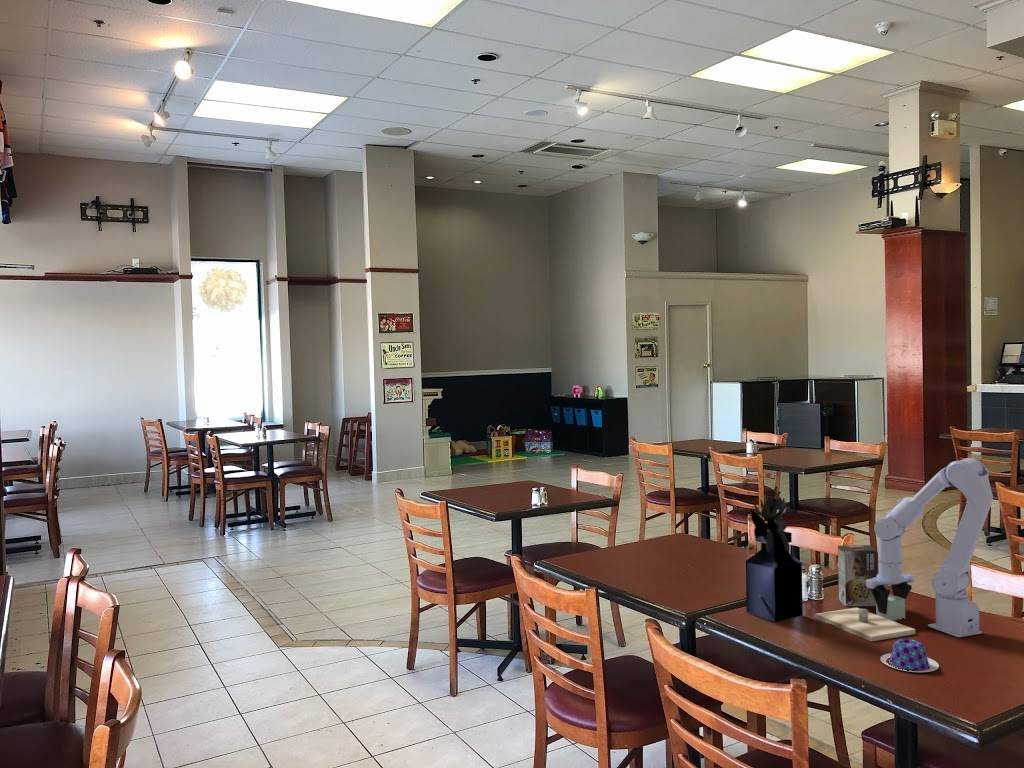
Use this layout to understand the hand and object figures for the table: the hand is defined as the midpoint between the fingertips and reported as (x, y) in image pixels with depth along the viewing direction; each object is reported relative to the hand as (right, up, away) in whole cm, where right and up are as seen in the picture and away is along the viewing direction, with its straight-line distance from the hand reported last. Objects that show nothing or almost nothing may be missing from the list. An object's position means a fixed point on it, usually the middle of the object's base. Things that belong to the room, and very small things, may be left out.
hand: (890, 611), depth 215 cm
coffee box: (-3, -2, +13) cm, 13 cm away
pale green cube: (0, -1, 0) cm, 1 cm away
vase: (-30, -2, +4) cm, 30 cm away
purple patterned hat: (-12, -3, -34) cm, 36 cm away
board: (-10, -2, -7) cm, 12 cm away
